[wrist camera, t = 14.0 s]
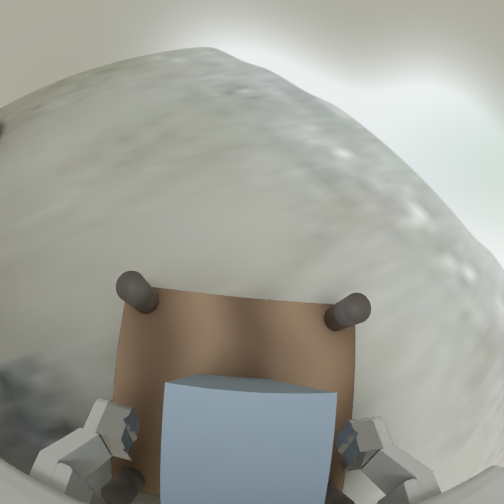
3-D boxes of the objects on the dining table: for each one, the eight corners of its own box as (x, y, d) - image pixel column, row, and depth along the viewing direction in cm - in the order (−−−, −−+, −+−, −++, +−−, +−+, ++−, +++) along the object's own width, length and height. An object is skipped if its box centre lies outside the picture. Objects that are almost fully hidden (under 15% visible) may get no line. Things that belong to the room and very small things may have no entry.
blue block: (195, 438, 15) (160, 520, 5) (200, 373, 16) (165, 382, 6) (266, 443, 15) (320, 525, 5) (271, 378, 17) (337, 392, 7)
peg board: (119, 477, 14) (93, 501, 9) (134, 289, 20) (111, 266, 15) (333, 492, 15) (360, 517, 10) (346, 310, 20) (378, 292, 16)
